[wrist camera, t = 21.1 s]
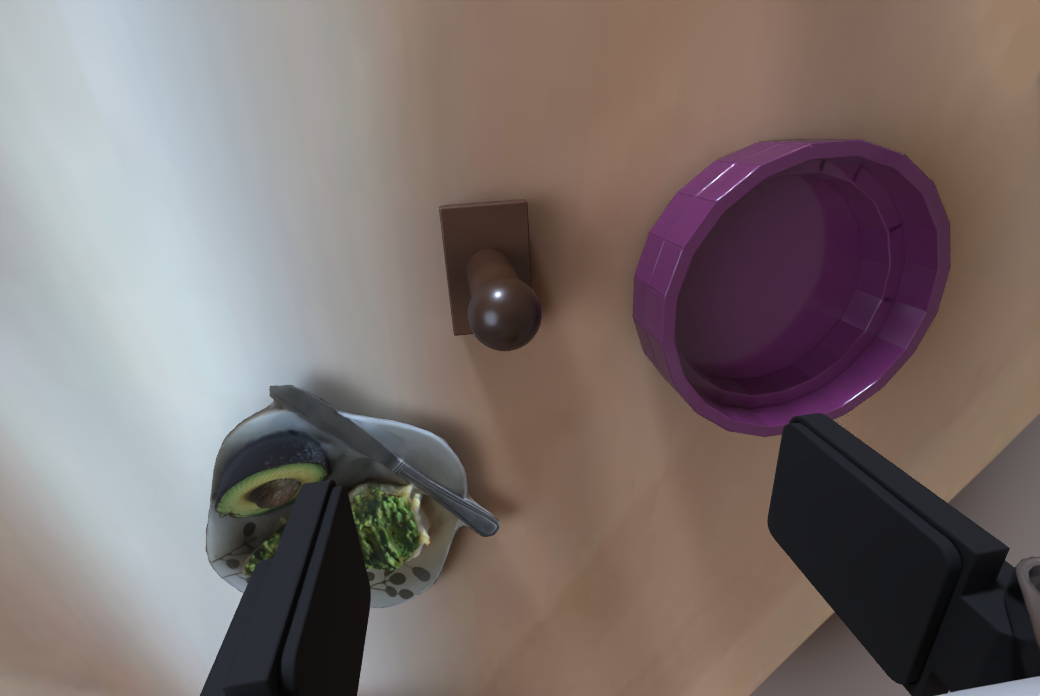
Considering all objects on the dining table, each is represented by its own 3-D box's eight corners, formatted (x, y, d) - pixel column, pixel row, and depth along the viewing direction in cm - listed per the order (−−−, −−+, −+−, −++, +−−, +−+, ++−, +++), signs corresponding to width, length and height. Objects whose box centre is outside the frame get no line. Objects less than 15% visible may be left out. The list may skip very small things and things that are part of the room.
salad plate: (530, 423, 36) (542, 461, 32) (460, 604, 42) (463, 657, 37) (237, 358, 31) (206, 393, 27) (204, 574, 37) (174, 631, 33)
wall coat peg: (439, 202, 29) (438, 240, 19) (520, 196, 30) (565, 229, 19) (453, 322, 32) (459, 413, 22) (527, 314, 33) (569, 399, 22)
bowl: (632, 150, 30) (672, 153, 25) (902, 130, 32) (990, 130, 27) (625, 409, 37) (655, 453, 32) (847, 380, 39) (908, 417, 34)
